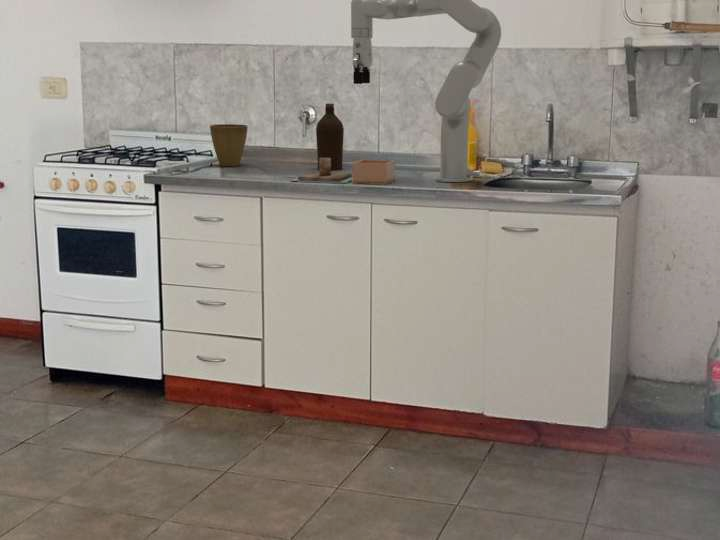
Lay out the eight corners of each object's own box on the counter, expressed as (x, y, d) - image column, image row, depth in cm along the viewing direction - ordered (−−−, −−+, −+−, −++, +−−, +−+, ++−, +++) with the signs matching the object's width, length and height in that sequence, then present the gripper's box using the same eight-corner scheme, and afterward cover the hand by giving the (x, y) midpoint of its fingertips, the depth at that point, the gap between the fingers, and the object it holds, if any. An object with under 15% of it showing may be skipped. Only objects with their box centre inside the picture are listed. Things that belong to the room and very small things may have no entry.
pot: (394, 180, 370) (395, 160, 368) (386, 184, 358) (386, 163, 357) (362, 179, 373) (362, 159, 371) (352, 183, 361) (352, 162, 360)
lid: (351, 177, 376) (351, 156, 374) (339, 181, 362) (339, 160, 360) (311, 175, 380) (311, 155, 378) (298, 180, 366) (297, 159, 364)
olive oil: (343, 170, 401) (343, 104, 396) (316, 170, 401) (315, 104, 396) (343, 167, 412) (343, 103, 407) (316, 167, 412) (316, 103, 407)
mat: (358, 178, 376) (358, 177, 376) (345, 183, 361) (345, 182, 360) (305, 176, 381) (305, 175, 381) (290, 181, 366) (290, 180, 366)
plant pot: (204, 167, 414) (203, 126, 411) (219, 163, 428) (218, 123, 425) (240, 168, 410) (239, 126, 407) (254, 164, 424) (253, 124, 421)
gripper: (365, 33, 361) (365, 84, 364) (378, 34, 377) (378, 82, 380) (344, 33, 363) (344, 84, 366) (358, 34, 379) (358, 82, 382)
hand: (361, 83), depth 373 cm, fingers open, 9 cm apart
